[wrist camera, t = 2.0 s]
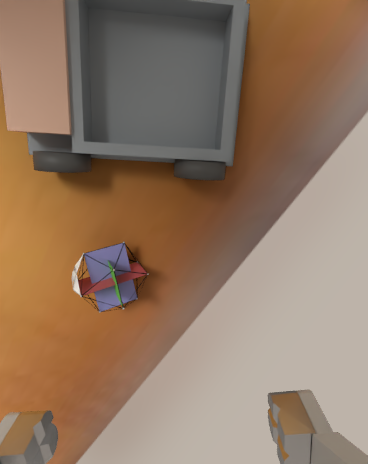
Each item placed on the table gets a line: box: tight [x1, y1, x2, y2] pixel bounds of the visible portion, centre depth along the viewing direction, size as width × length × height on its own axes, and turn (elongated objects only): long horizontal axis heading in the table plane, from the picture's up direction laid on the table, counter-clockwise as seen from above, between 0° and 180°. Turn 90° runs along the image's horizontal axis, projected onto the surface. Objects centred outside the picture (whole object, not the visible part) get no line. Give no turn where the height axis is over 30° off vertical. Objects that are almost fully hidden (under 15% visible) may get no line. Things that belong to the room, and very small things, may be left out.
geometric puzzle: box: [72, 242, 149, 313], centre depth 30 cm, size 7×7×8 cm
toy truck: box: [0, 0, 250, 180], centre depth 25 cm, size 20×16×5 cm
